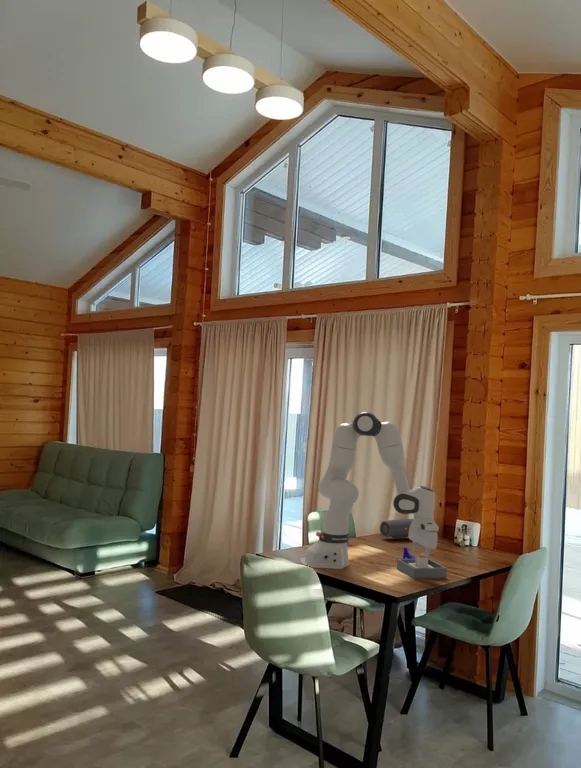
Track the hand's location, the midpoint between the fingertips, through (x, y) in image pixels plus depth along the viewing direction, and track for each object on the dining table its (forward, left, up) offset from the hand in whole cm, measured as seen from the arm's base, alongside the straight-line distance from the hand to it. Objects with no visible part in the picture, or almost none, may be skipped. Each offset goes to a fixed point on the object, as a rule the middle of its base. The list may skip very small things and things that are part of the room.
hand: (420, 554), depth 290 cm
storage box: (+1, 0, -9) cm, 9 cm away
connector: (+1, 0, -8) cm, 8 cm away
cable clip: (+10, +23, -10) cm, 27 cm away
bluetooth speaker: (+26, +71, -9) cm, 76 cm away
